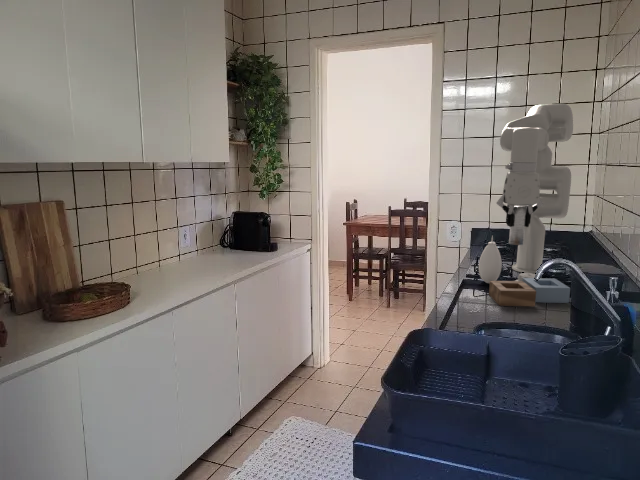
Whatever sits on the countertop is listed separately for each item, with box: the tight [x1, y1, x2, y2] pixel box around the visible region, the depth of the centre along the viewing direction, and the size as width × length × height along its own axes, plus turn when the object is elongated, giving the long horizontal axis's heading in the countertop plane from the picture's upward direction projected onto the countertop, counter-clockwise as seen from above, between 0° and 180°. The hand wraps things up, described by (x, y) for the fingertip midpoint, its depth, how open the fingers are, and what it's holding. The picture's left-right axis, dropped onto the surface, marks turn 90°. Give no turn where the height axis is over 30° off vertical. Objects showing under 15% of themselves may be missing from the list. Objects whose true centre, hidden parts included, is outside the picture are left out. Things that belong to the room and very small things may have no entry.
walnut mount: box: [488, 280, 536, 307], centre depth 153 cm, size 11×11×5 cm
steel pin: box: [508, 205, 527, 246], centre depth 148 cm, size 4×4×12 cm
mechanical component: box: [514, 272, 535, 281], centre depth 169 cm, size 10×4×10 cm
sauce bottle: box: [478, 235, 503, 285], centre depth 171 cm, size 8×8×18 cm
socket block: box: [522, 277, 571, 304], centre depth 156 cm, size 11×11×5 cm
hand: (517, 225), depth 148 cm, fingers closed on steel pin, 4 cm apart
